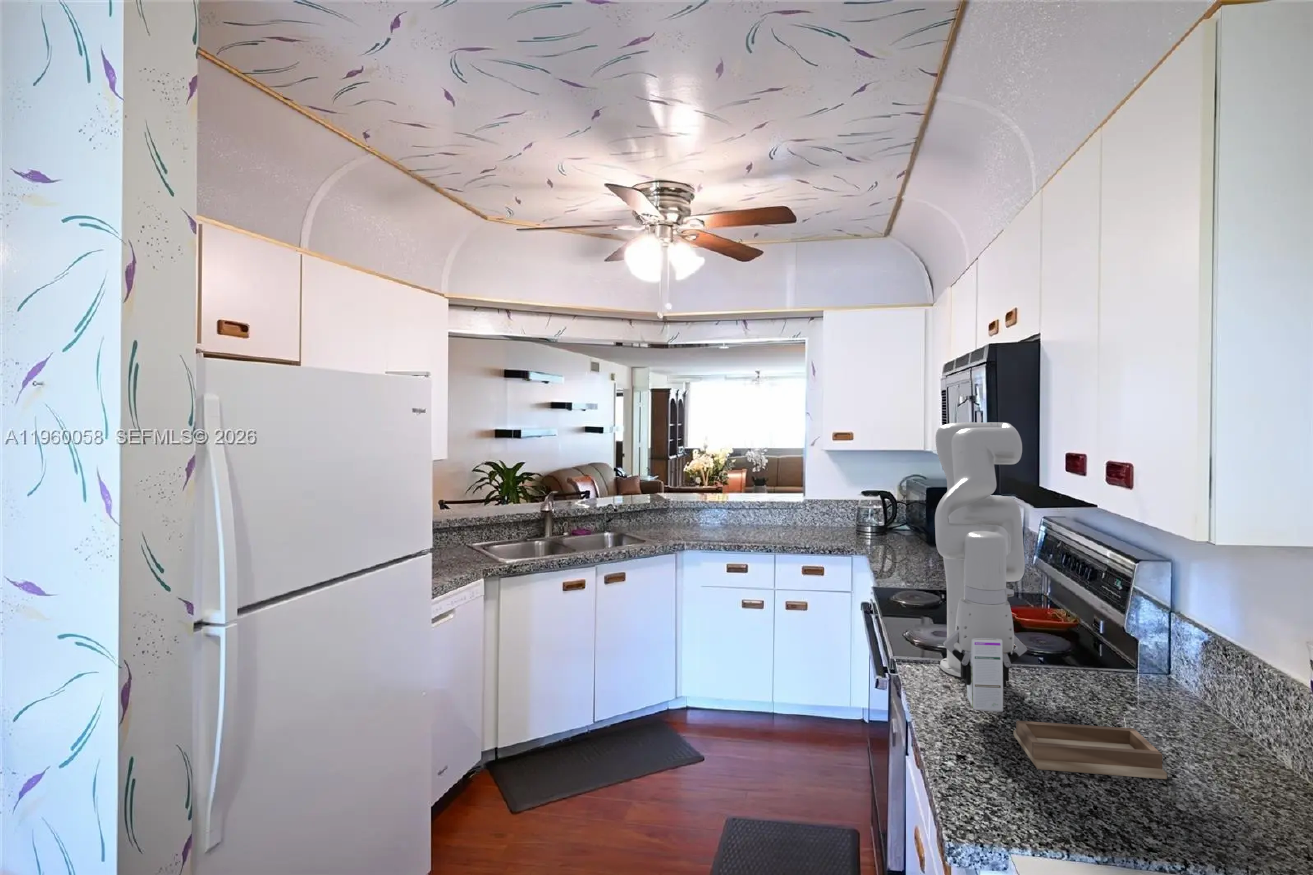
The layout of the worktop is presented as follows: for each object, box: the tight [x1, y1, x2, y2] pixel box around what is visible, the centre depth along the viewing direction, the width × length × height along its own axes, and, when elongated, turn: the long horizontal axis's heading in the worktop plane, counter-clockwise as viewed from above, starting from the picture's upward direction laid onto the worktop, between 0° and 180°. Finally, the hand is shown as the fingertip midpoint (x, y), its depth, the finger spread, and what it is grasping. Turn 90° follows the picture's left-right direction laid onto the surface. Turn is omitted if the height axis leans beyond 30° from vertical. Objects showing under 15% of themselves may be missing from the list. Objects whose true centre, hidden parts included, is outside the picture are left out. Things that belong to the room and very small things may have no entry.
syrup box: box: [966, 638, 1004, 712], centre depth 139 cm, size 6×6×14 cm
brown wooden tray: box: [1013, 720, 1168, 780], centre depth 125 cm, size 13×20×4 cm, turn 79°
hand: (984, 682), depth 139 cm, fingers closed on syrup box, 5 cm apart
